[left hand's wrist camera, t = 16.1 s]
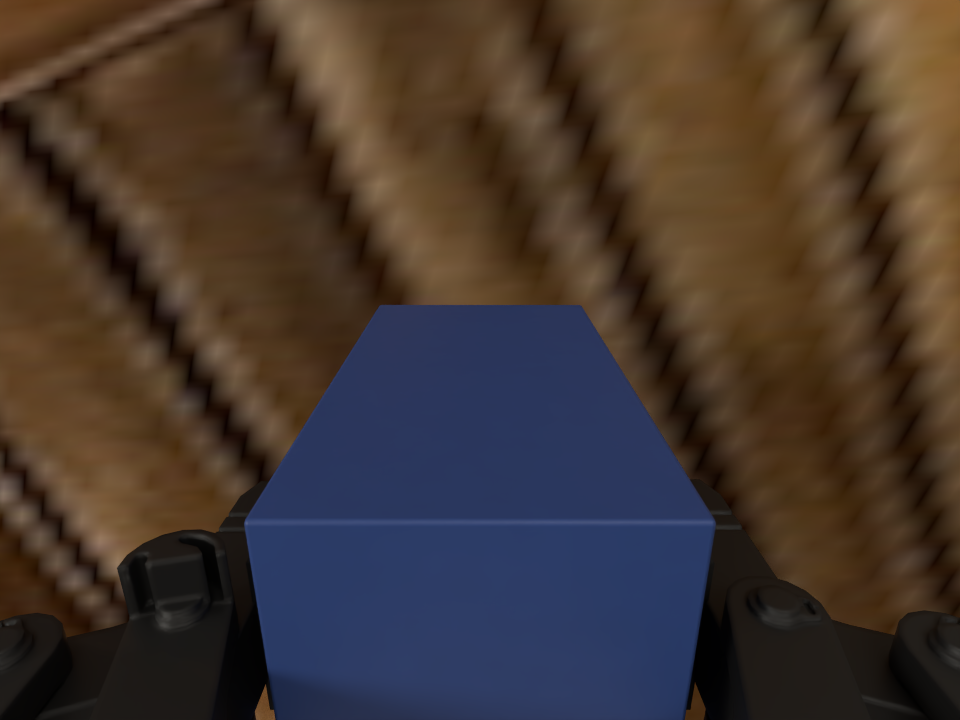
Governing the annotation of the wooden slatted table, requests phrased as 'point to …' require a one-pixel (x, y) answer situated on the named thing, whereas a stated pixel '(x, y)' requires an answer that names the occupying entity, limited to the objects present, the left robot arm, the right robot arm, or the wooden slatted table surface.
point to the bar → (480, 531)
